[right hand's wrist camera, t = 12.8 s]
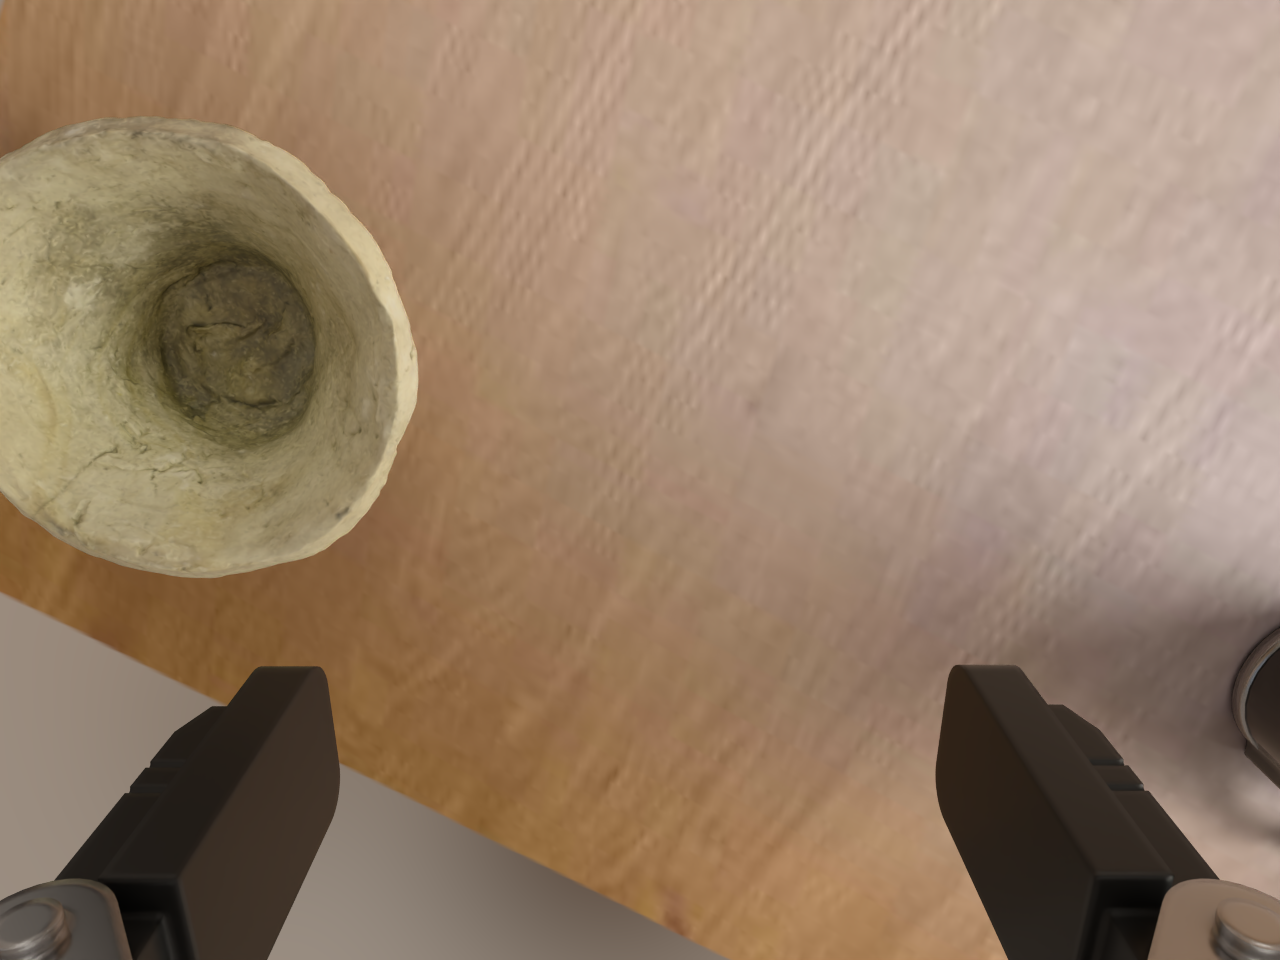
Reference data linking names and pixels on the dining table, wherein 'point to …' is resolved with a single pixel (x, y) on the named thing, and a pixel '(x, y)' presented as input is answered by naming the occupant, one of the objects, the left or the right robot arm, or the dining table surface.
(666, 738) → the dining table surface
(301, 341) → the bowl
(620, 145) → the dining table surface
